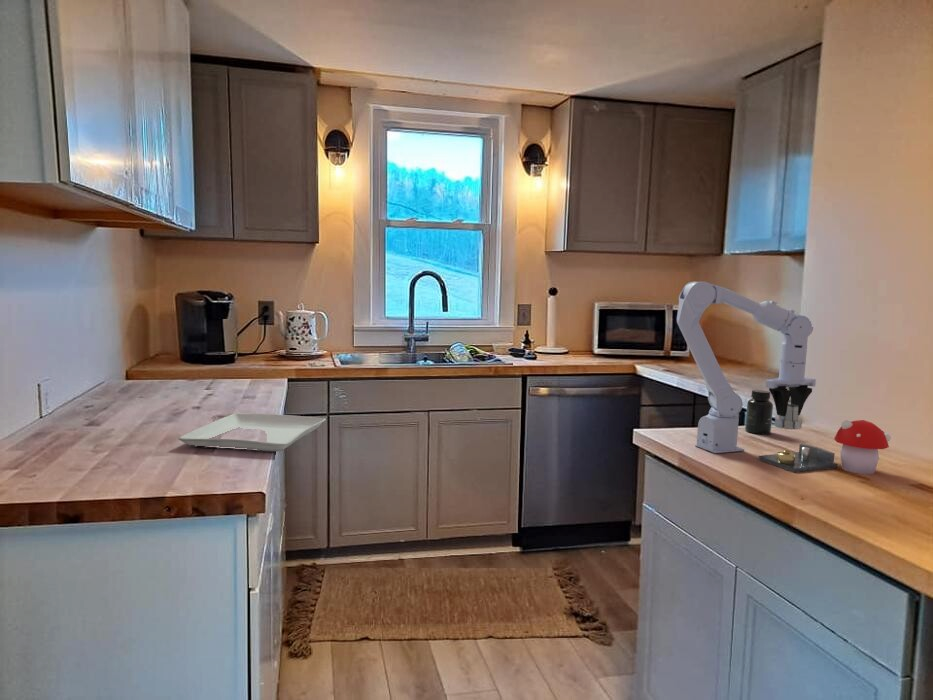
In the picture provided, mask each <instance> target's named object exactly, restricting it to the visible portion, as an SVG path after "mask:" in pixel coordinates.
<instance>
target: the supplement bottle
mask: <svg viewBox="0 0 933 700" xmlns="http://www.w3.org/2000/svg"><path fill="white" fill-rule="evenodd" d="M750 396H751V398H750V399H749V400H748V401H747V403H746V411H745V412H746V414H745V415H746V416H745V428H744V429H745V431H746V432H748V433H750V432H751V434H755V433H756V434H758V435H770V434H771V432H772V421H773V409H774V404H773V402H772V401H771V400H770V399H771V392H770V391H769V390H761V389H753V390H751V395H750Z"/></svg>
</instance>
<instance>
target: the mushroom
mask: <svg viewBox="0 0 933 700" xmlns="http://www.w3.org/2000/svg"><path fill="white" fill-rule="evenodd" d="M840 425H841V427H839V429H838V430H837V432H836V434H835V436H834V439H833V440H834V441H835V442H836V443H838V444H841V445H842V446H841V449H840V460H841V461H840V463H841V469H843V470H844V471H847V472H849V473H854V474H859V475H873V473H874V474H875V472H876V470H877V466H878V463H879V460H880V455H879V450H885V449H888V448H890V445H889V441H890V440H892V438H891V435H890V434H889V433H888V432H885V431H884V430H882V429H881V428H880V427H878V426H877V425H876V424H875V423H873V422H871V421H867V420H864V419H862V420H861V419H858V420H853V421H851V420H844V421H842V422H841V424H840Z"/></svg>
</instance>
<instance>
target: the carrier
mask: <svg viewBox="0 0 933 700" xmlns="http://www.w3.org/2000/svg"><path fill="white" fill-rule="evenodd" d="M798 447H799V448H798V451H795V452H790V451H789V450H783V451H778V452H777V453H773V454H763V455H759V456H758V461H761V462H763V461H764V462H763V463H766V462H767V464H770V465H773V466H774V467H777V466H778V468H780V467H781V469H783V468H784V469H783V470H786V471H788V470H789V472H792V473H802V472H812V471H813V472H814V471H822V470H831V469H837V463H835V454H836V453H834V452H832V451H829V450H827V449H825V448H821V447H817V446H814V445H809V444H804V443H799V446H798Z"/></svg>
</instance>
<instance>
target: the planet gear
mask: <svg viewBox="0 0 933 700" xmlns="http://www.w3.org/2000/svg"><path fill="white" fill-rule="evenodd" d="M802 422H803V420H802V418H799V415H798V405H794V404H791V403H788V406H787V413H786V416H780V415H778V416H775V417H774V427H776V428H780V429H784V430H801V429H802V426H803V425H802V424H803V423H802Z"/></svg>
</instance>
